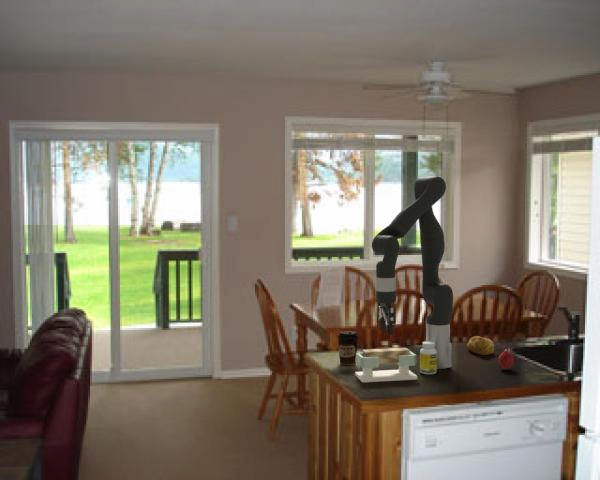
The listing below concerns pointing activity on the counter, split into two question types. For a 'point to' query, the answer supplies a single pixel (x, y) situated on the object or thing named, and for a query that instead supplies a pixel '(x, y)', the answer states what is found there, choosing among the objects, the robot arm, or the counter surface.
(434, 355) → the pill bottle
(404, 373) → the bracket stand
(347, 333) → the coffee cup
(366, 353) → the tan rectangular bar
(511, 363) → the onion
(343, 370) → the counter surface
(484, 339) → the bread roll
